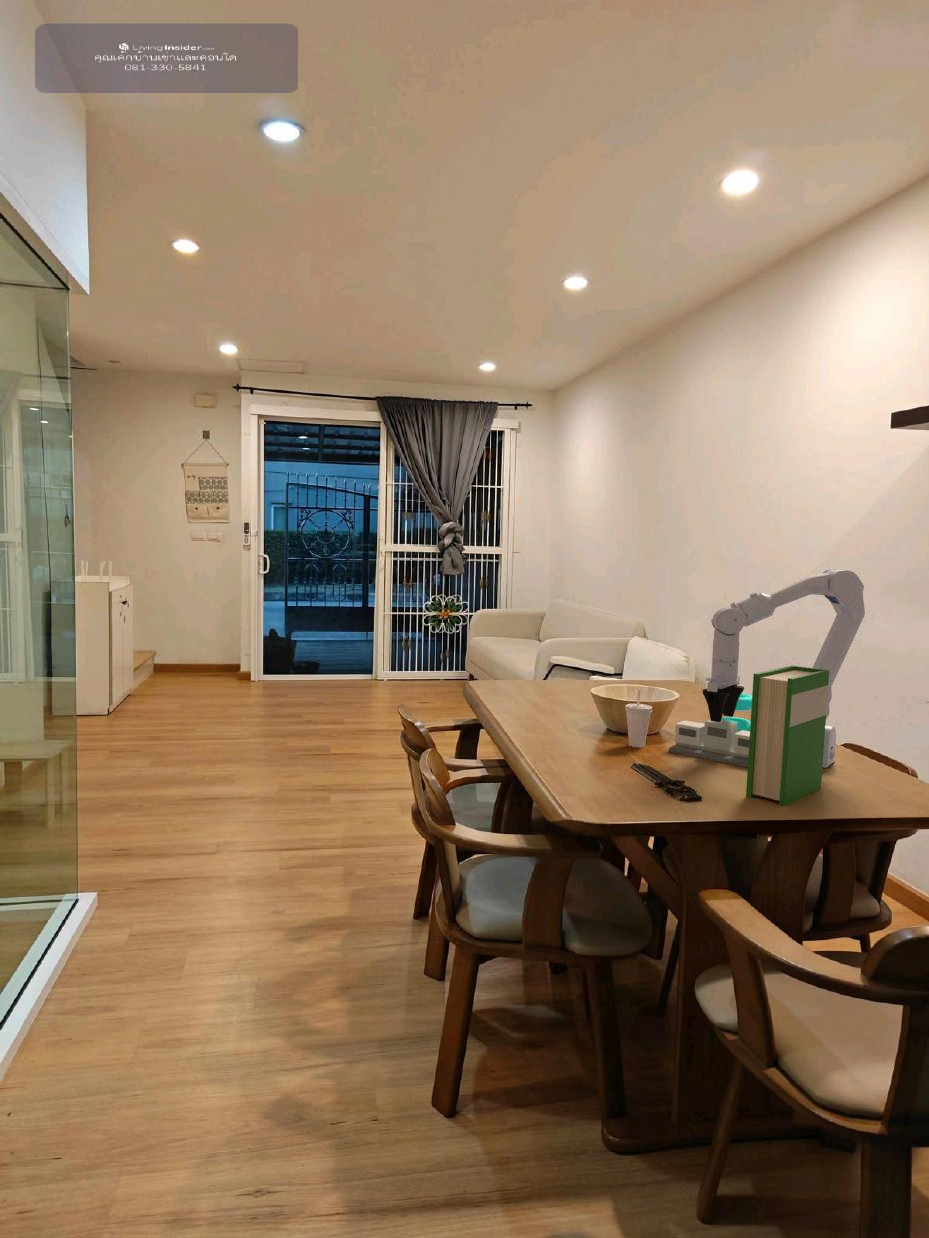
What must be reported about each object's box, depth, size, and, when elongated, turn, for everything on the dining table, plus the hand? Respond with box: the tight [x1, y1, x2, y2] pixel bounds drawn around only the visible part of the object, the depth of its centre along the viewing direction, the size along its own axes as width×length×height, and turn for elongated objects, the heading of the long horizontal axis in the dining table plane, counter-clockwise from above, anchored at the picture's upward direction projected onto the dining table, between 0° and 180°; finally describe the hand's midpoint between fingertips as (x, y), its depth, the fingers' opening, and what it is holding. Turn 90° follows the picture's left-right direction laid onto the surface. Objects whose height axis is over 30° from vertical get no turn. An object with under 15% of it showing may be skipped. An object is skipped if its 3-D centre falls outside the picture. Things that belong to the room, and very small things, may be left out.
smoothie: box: [624, 687, 653, 748], centre depth 182 cm, size 6×6×14 cm
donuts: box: [721, 692, 752, 732], centre depth 200 cm, size 10×10×10 cm
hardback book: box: [745, 665, 829, 807], centre depth 149 cm, size 18×7×24 cm, turn 134°
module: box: [703, 719, 738, 752], centre depth 176 cm, size 6×5×6 cm
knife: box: [630, 762, 703, 803], centre depth 155 cm, size 25×6×1 cm, turn 8°
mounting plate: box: [668, 719, 750, 768], centre depth 176 cm, size 20×11×6 cm, turn 50°
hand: (722, 718), depth 176 cm, fingers open, 7 cm apart
